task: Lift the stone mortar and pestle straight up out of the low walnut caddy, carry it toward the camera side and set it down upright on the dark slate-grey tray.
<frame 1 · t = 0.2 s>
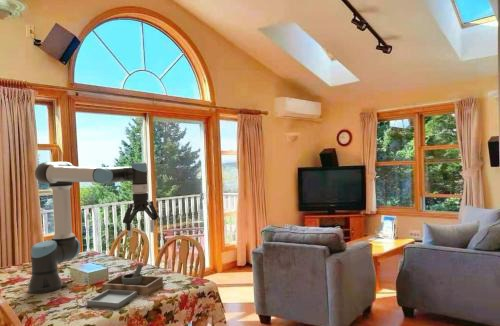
hand: (141, 234, 198), 26 cm above the table, fingers open, 13 cm apart
mortar and pestle: (133, 289, 195), resting in caddy
caddy: (133, 289, 195), on the table
tray: (113, 301, 178), on the table
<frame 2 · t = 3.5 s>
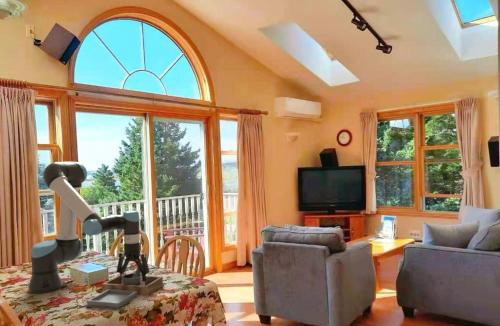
hand: (133, 286, 195), 1 cm above the table, fingers closed on mortar and pestle, 10 cm apart
mortar and pestle: (133, 289, 194), resting in caddy, touching gripper
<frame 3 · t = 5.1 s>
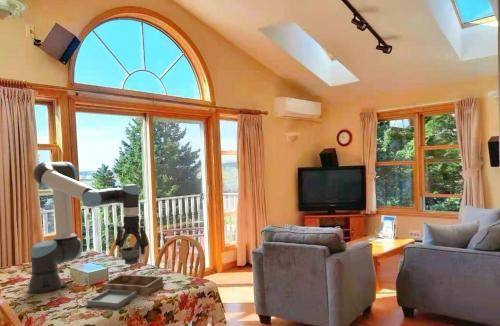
hand: (132, 260, 195), 15 cm above the table, fingers closed on mortar and pestle, 10 cm apart
mortar and pestle: (132, 262, 194), point 13 cm above the table, touching gripper
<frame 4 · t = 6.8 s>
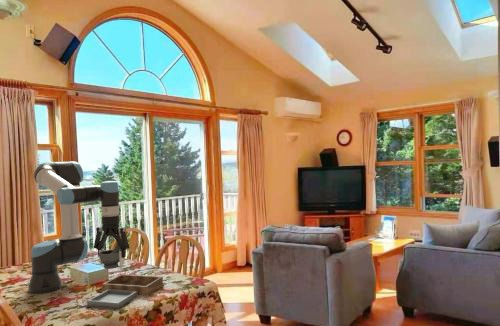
hand: (112, 264, 178), 17 cm above the table, fingers closed on mortar and pestle, 10 cm apart
mortar and pestle: (112, 267, 178), point 16 cm above the table, touching gripper
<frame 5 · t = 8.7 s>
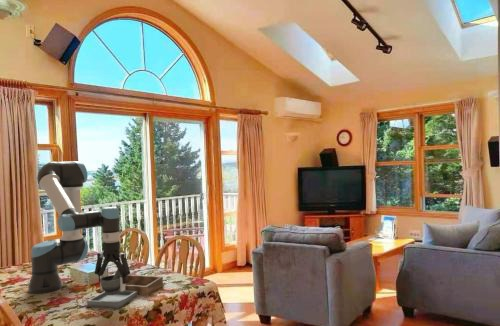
hand: (112, 290, 178), 5 cm above the table, fingers closed on mortar and pestle, 10 cm apart
mortar and pestle: (113, 293, 178), point 4 cm above the table, touching gripper
when the fingers open (4 cm above the table, at t = 10.1 s): mortar and pestle drops 1 cm, resting on tray.
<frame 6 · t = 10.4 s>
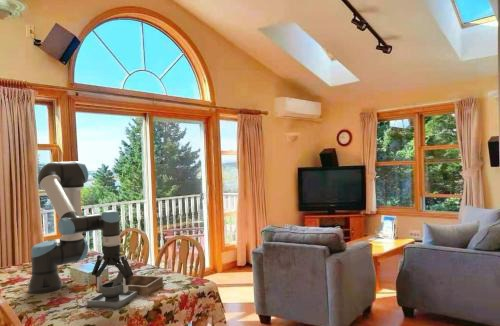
hand: (112, 291, 178), 5 cm above the table, fingers open, 13 cm apart
mortar and pestle: (113, 299, 178), point 1 cm above the table, touching tray
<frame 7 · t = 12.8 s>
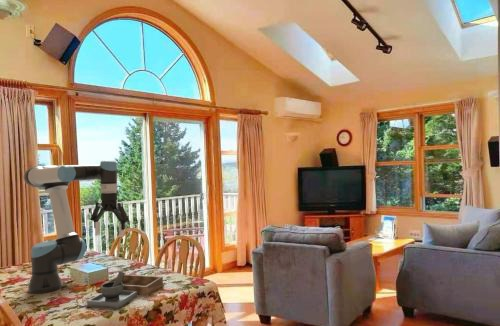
hand: (109, 235, 190), 28 cm above the table, fingers open, 13 cm apart
nothing on the table moved.
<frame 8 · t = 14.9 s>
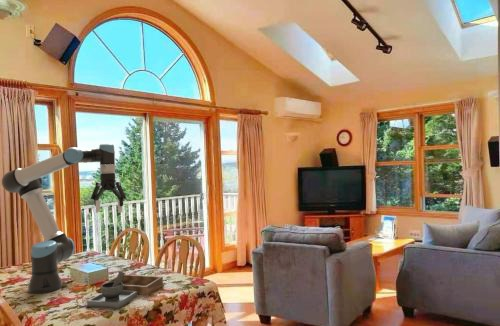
hand: (109, 212, 210), 37 cm above the table, fingers open, 13 cm apart
nothing on the table moved.
at the end: mortar and pestle 0.4 cm from the tray (horizontally); mortar and pestle tilted 0°; mortar and pestle touching tray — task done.
